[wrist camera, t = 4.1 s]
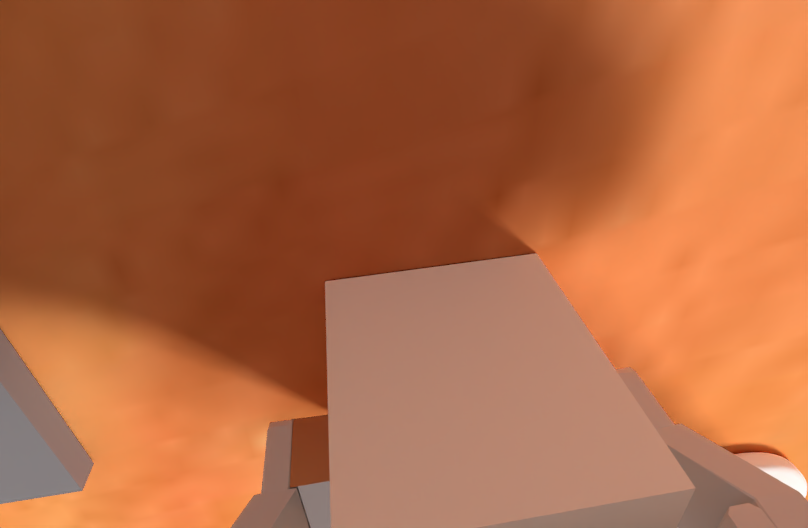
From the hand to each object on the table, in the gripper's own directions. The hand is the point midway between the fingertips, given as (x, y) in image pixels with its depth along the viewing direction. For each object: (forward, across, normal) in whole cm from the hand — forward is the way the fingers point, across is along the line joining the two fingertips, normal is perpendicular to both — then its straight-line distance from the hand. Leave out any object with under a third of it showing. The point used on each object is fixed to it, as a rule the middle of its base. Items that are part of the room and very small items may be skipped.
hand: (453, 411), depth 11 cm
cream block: (+2, 0, 0) cm, 2 cm away
